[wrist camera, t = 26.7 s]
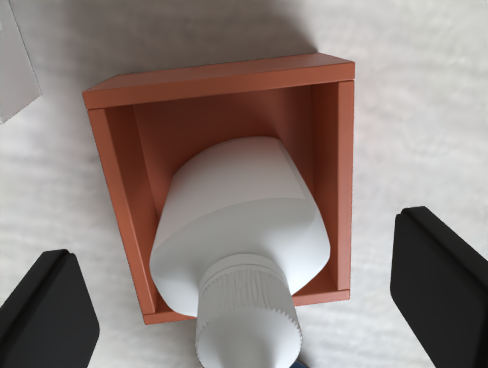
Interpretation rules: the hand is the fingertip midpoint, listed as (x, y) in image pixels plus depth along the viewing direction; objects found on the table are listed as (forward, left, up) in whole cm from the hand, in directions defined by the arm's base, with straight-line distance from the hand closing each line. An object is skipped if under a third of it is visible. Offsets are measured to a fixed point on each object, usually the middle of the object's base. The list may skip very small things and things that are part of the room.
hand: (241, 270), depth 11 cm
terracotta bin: (0, 0, -8) cm, 8 cm away
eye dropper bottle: (0, 0, -8) cm, 8 cm away
